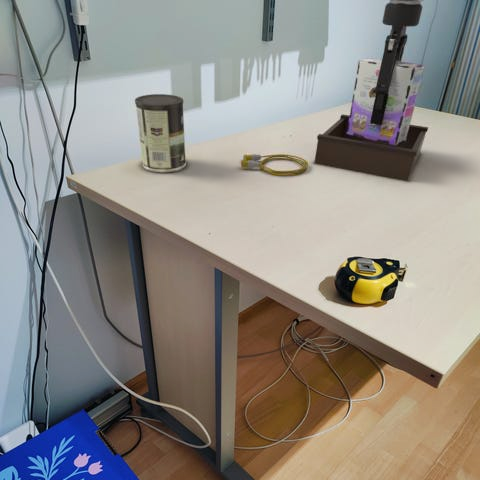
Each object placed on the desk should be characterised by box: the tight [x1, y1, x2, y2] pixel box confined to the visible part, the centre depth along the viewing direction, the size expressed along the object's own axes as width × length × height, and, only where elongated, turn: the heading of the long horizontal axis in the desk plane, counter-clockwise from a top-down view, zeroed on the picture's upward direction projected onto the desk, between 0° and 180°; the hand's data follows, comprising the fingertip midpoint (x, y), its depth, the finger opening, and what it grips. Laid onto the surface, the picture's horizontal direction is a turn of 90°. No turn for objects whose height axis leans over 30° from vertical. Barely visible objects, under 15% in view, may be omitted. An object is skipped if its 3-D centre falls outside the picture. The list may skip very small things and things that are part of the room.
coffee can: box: [134, 93, 187, 173], centre depth 95 cm, size 10×10×14 cm
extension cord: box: [240, 153, 309, 177], centre depth 101 cm, size 12×16×2 cm
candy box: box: [347, 57, 426, 145], centre depth 100 cm, size 14×6×16 cm, turn 47°
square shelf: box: [314, 113, 429, 182], centre depth 106 cm, size 23×23×7 cm
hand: (379, 120), depth 103 cm, fingers closed on candy box, 7 cm apart
